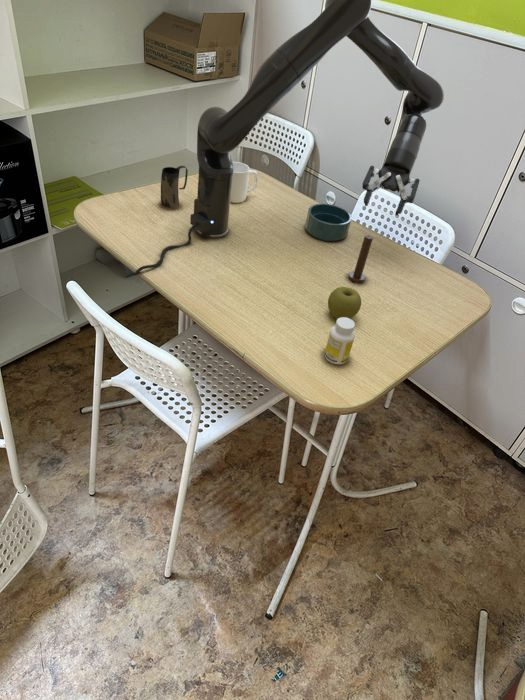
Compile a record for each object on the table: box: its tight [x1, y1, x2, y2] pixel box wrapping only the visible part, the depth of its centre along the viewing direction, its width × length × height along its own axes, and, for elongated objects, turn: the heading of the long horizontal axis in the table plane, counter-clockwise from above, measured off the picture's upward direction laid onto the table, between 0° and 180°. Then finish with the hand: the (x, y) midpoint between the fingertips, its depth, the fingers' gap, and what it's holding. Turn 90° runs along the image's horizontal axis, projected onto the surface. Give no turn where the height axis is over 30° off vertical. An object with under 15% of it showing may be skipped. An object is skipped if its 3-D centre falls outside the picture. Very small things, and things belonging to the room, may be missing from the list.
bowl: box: [304, 203, 352, 242], centre depth 158 cm, size 13×13×6 cm
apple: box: [327, 286, 362, 320], centre depth 126 cm, size 8×8×7 cm
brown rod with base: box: [348, 234, 374, 284], centre depth 138 cm, size 4×4×13 cm
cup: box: [230, 161, 259, 204], centre depth 167 cm, size 8×12×10 cm
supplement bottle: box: [324, 317, 356, 365], centre depth 113 cm, size 5×5×10 cm
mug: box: [160, 165, 189, 211], centre depth 156 cm, size 8×6×12 cm
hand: (381, 209), depth 139 cm, fingers open, 8 cm apart
